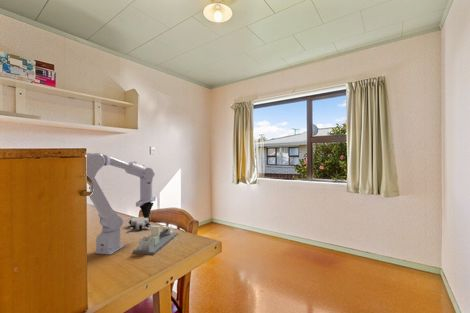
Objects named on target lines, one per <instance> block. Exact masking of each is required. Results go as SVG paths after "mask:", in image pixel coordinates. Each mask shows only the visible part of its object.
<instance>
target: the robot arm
mask: <svg viewBox="0 0 470 313" xmlns="http://www.w3.org/2000/svg"><path fill="white" fill-rule="evenodd" d="M86 154H87V175H88V177H89V178H90V179H91V180H92V182H93V189H94V191H93V194H92V195H91V196H89V195H88V197H89V198H90V200H91V202H92V204H93V206H94V207H95V208H96V211H97V212H98V214H97V215H98V218H99V224H100V226H102V228H101V232H100V233H99V234H98V235H97V236H96V240H95V243H96V244H95V247H96V248H95V251H94V254H99V255H112V254H115V252H117V251H119V250H120V249H122V248H124V247H125V244H121V227H122V226H123V223H124V220H123V218H122V216H120V215H118V213H117V212H116V211H115V210H114V209H113V208H112V206H111V205H110V202H109V200H108V199H107V197H106V196H105V194H104V192H103V190H102V188H101V186H100V185H99V183H98V181H97V179H96V176H97V173H98V172H99V170H100V169H102V167H104V166H112V167H115V168H119V169H121V170H124V171H125V173H126V174H129V175H131V176H132V175H133V176H135V177H138V178H139V200H138V201H136V202H135V207H137V208H138V207H139V208H140V210H141V212H142V217H144V218H150V214H151V210H152V208H153V206H154V202H155V201H156V196H153V178H154V176H155V172H154V170H153V169H152V168H151V167H146V166H145V164H144V165H143V164H142V165H141V164H138V163H137V161H129V162H126V161H123V160H121V159H118V158H115V157H112V156H110V155H107V154H102V153H99V152H98V153H97V152H96V153H92V152H91V153H88V152H87V153H86ZM89 189H90V187H89Z"/></svg>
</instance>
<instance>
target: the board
mask: <svg viewBox="0 0 470 313" xmlns="http://www.w3.org/2000/svg"><path fill="white" fill-rule="evenodd" d="M166 228H167V229H168V232H166V233H165V234H164V235H162V236H161V237H159V243H158V244H156V245H154V248H153V249H152V250H150V251H139V246H137V247H136V248H134V249H133V250H132V254H142V255H143V254H144V255H155V254H157V253H158V252H159V251H160V250H161V249H163V248H164V247H165V246H167V245H168V243H170V242H171V241H172V240H174V239H175V238H176V237H177V236H178V235H179V232H174V231H173V225H169V226H168V225H164V226H162V231H163V230H165V229H166ZM162 231H160V233H161V232H162ZM177 234H178V235H177ZM176 235H177V236H176ZM175 236H176V237H175ZM174 237H175V238H174Z"/></svg>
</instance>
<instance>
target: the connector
mask: <svg viewBox="0 0 470 313" xmlns="http://www.w3.org/2000/svg"><path fill="white" fill-rule="evenodd" d="M138 247H139V251H150V250H152V249H153V248H154V238H151V237H148V236H144V237H142V238H140V239H139V240H138Z"/></svg>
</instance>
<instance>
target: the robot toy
mask: <svg viewBox="0 0 470 313" xmlns="http://www.w3.org/2000/svg"><path fill="white" fill-rule="evenodd" d="M151 221H152V219H151V217H148V218H144V216H137V217H133V218H131V219H129V220H128V224H129V225H130V227H129V230H134V229H135V230H136V231H139V230H145V228H146V227H147V228H151V226H152V225H151V224H150V222H151Z"/></svg>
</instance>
